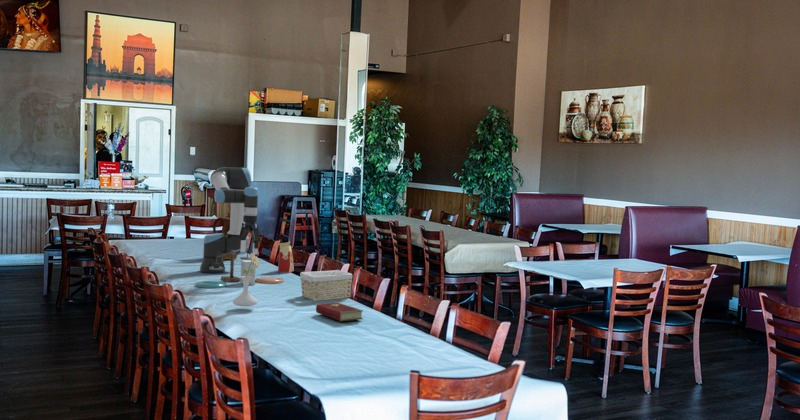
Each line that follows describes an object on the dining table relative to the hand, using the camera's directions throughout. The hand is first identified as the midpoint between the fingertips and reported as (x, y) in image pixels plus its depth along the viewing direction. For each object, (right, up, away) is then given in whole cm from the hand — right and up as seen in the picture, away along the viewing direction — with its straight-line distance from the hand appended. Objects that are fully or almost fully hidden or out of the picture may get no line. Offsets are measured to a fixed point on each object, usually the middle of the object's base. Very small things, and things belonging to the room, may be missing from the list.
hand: (248, 253), depth 401 cm
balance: (-12, -16, +11) cm, 23 cm away
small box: (-1, -18, +1) cm, 18 cm away
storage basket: (+45, -24, -24) cm, 56 cm away
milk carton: (+12, -16, +51) cm, 54 cm away
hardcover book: (+56, -25, -71) cm, 94 cm away
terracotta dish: (+9, -17, +14) cm, 24 cm away
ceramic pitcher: (-38, -11, +96) cm, 104 cm away
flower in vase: (+12, -21, -61) cm, 65 cm away
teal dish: (-18, -17, -11) cm, 27 cm away
